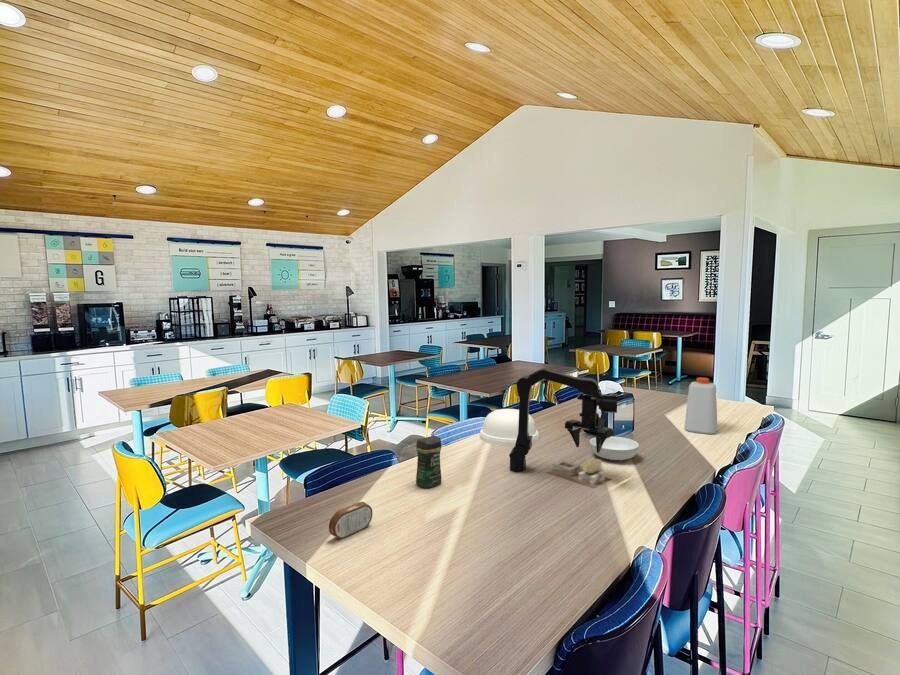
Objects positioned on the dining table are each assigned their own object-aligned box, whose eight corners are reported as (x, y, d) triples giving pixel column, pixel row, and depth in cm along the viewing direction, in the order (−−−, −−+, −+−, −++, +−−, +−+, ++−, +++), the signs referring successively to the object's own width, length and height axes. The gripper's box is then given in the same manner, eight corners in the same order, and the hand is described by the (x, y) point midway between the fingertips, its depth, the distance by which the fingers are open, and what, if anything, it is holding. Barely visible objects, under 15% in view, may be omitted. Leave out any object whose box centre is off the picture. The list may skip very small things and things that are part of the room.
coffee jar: (426, 490, 182) (425, 442, 180) (412, 484, 187) (412, 437, 186) (445, 483, 188) (445, 436, 186) (431, 478, 194) (431, 432, 192)
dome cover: (469, 432, 257) (469, 406, 256) (519, 426, 268) (519, 401, 267) (497, 450, 228) (497, 421, 226) (551, 443, 239) (552, 415, 238)
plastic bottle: (717, 428, 262) (720, 377, 259) (715, 435, 249) (718, 381, 246) (686, 424, 270) (688, 374, 267) (683, 431, 257) (685, 379, 254)
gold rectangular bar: (600, 477, 191) (601, 459, 191) (587, 484, 184) (587, 466, 184) (596, 475, 193) (596, 458, 192) (582, 482, 186) (582, 464, 185)
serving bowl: (631, 450, 227) (631, 436, 226) (644, 466, 206) (645, 450, 205) (585, 449, 229) (586, 434, 228) (594, 464, 208) (594, 449, 207)
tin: (368, 522, 157) (367, 497, 156) (374, 525, 154) (373, 500, 154) (328, 540, 145) (327, 513, 145) (334, 544, 143) (333, 516, 142)
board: (594, 490, 181) (594, 480, 180) (545, 474, 197) (545, 465, 196) (612, 481, 189) (612, 471, 189) (564, 467, 205) (564, 457, 205)
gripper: (621, 412, 188) (620, 451, 190) (580, 403, 202) (579, 440, 204) (606, 416, 181) (604, 457, 182) (564, 407, 195) (563, 445, 196)
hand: (587, 449), depth 191 cm, fingers open, 9 cm apart
